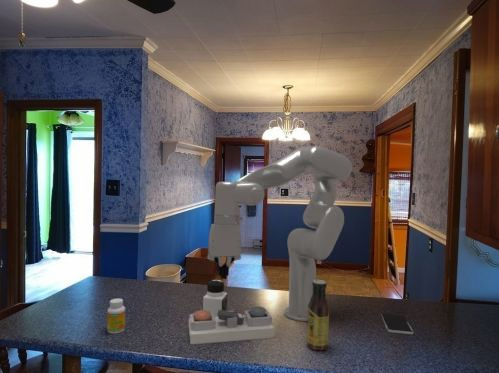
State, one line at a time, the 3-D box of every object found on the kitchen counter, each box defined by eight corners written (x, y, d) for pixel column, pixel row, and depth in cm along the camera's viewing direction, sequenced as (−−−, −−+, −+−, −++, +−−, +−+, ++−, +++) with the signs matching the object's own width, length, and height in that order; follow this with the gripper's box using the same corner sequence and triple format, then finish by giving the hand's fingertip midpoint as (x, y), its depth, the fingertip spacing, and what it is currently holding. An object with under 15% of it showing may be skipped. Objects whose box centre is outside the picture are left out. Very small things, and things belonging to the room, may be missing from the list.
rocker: (240, 318, 118) (241, 313, 118) (242, 323, 114) (244, 318, 114) (217, 314, 116) (218, 309, 116) (218, 319, 112) (220, 314, 112)
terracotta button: (209, 316, 116) (209, 309, 116) (211, 323, 111) (211, 315, 111) (194, 318, 115) (194, 310, 115) (195, 324, 110) (195, 316, 110)
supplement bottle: (108, 335, 112) (108, 304, 111) (106, 328, 116) (106, 299, 116) (126, 332, 114) (126, 302, 114) (123, 325, 119) (123, 296, 118)
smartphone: (403, 315, 131) (414, 331, 116) (403, 318, 131) (413, 335, 116) (380, 312, 132) (387, 329, 118) (380, 316, 132) (387, 333, 118)
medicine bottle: (221, 318, 126) (222, 285, 125) (202, 316, 127) (203, 283, 127) (227, 311, 133) (227, 279, 132) (208, 309, 134) (209, 277, 134)
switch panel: (264, 322, 124) (265, 305, 123) (274, 337, 112) (274, 319, 112) (188, 327, 118) (188, 310, 118) (190, 344, 106) (190, 325, 106)
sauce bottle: (305, 341, 110) (306, 277, 109) (325, 342, 110) (327, 277, 109) (308, 351, 103) (309, 283, 103) (329, 352, 103) (331, 284, 102)
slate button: (263, 313, 120) (263, 306, 120) (267, 319, 115) (267, 311, 115) (248, 314, 119) (248, 306, 119) (252, 320, 114) (252, 312, 114)
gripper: (246, 219, 119) (243, 274, 119) (201, 218, 115) (198, 275, 116) (251, 222, 111) (248, 280, 112) (203, 221, 108) (200, 281, 108)
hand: (223, 277), depth 114 cm, fingers closed
